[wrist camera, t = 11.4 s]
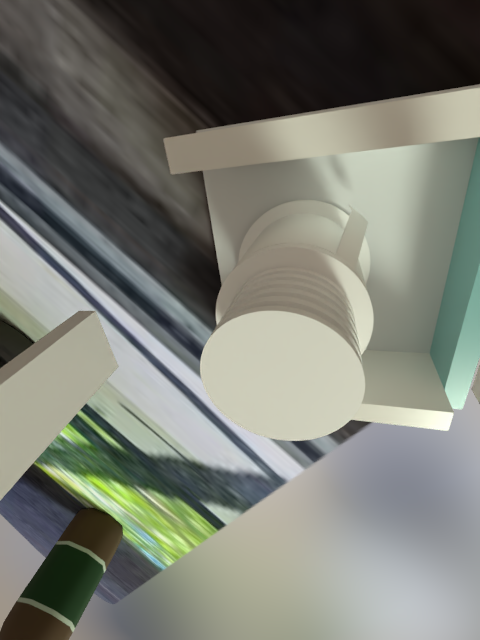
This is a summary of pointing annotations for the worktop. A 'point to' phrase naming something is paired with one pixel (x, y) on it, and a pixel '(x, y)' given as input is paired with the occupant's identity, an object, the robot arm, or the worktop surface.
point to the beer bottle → (65, 580)
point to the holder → (373, 227)
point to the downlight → (293, 324)
